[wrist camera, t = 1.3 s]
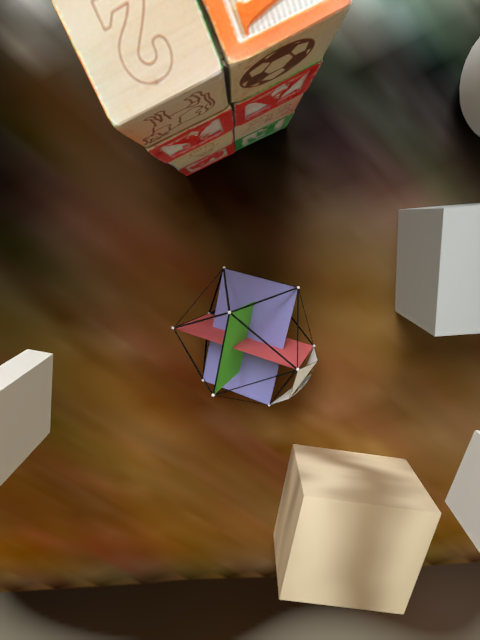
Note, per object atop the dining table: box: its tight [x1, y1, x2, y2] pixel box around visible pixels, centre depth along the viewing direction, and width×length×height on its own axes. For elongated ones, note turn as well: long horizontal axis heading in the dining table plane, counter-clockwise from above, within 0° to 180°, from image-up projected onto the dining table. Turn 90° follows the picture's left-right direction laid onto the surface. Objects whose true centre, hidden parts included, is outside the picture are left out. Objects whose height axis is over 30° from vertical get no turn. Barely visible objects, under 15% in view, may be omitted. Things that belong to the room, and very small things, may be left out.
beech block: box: [273, 444, 441, 614], centre depth 24 cm, size 8×8×5 cm
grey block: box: [395, 203, 480, 337], centre depth 19 cm, size 6×6×5 cm
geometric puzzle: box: [172, 266, 318, 407], centre depth 19 cm, size 7×7×8 cm
